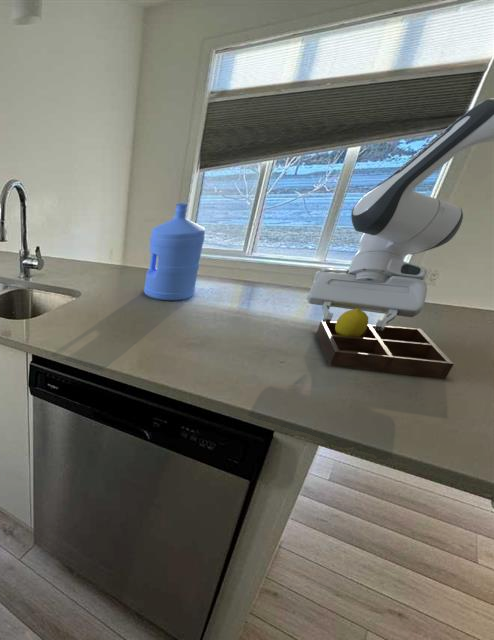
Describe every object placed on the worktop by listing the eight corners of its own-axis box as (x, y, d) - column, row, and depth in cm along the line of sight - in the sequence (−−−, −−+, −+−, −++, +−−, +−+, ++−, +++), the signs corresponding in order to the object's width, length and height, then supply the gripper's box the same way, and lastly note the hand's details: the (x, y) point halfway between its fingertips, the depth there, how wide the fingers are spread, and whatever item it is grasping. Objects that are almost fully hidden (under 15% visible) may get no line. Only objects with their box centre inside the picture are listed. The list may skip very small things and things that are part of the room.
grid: (413, 342, 94) (420, 328, 92) (445, 379, 80) (454, 363, 79) (316, 333, 102) (320, 320, 100) (329, 365, 88) (335, 351, 87)
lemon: (341, 334, 99) (353, 303, 95) (366, 342, 95) (380, 310, 91) (324, 338, 98) (336, 307, 94) (349, 347, 93) (362, 314, 89)
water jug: (200, 290, 136) (217, 200, 122) (184, 304, 127) (201, 208, 113) (154, 284, 146) (165, 200, 132) (136, 297, 136) (146, 207, 122)
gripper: (319, 260, 99) (298, 311, 98) (438, 270, 86) (416, 328, 85) (316, 274, 104) (296, 322, 102) (428, 285, 91) (407, 339, 90)
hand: (352, 325), depth 94 cm, fingers open, 8 cm apart
